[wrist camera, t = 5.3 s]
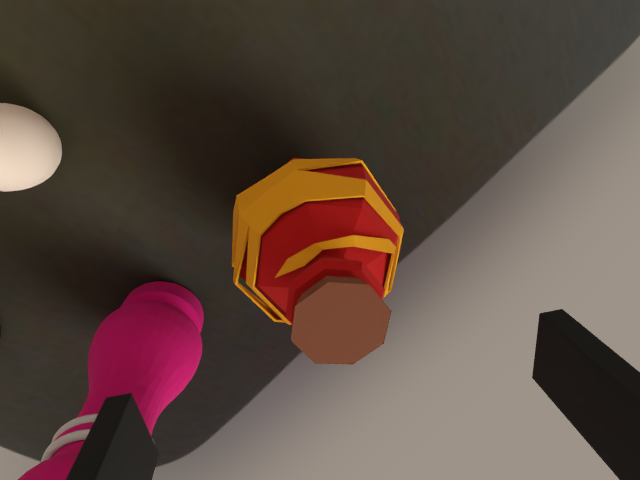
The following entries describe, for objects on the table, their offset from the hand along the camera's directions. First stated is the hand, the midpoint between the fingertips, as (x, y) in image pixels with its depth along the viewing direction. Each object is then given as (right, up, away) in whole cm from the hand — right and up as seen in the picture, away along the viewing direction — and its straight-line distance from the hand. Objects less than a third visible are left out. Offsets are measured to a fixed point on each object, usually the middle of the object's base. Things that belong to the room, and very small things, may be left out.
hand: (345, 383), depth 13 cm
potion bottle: (-2, +7, +17) cm, 18 cm away
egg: (-19, +11, +13) cm, 26 cm away
